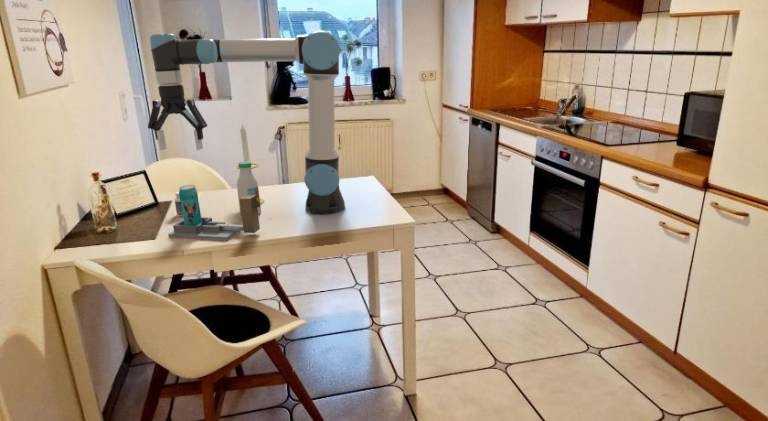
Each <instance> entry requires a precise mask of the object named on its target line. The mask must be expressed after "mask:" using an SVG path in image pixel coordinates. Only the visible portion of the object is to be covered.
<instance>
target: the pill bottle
mask: <svg viewBox="0 0 768 421" xmlns="http://www.w3.org/2000/svg"><path fill="white" fill-rule="evenodd" d="M179 191H180V190H179ZM179 191H176V192H175V193H174V194H175V198H174V205H175V211H176V215H177V216H178V217H183V213H182V207H181V202H180V196H179Z"/></svg>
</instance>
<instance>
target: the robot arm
mask: <svg viewBox="0 0 768 421" xmlns="http://www.w3.org/2000/svg"><path fill="white" fill-rule="evenodd" d="M149 40H150V41H149V42H150V52H151V55H152V61H153V65H154V71H155V72H154V73H155V78H156V83H157V85H159V86H158V87H157V88H158V93H159V95H158V96H159V97H160V99H155V100H152V102H151V103H152V108H151V112H150V116H149V121H148V124H147V128H148V129H150V130H153V131H154V135H155V140H156V141H158V147H159V150H160V151H163V150H166V149H167V143H166V137H165V132H164V129H162V127H163V125H164V124H165V122H166V119H167V118H168V116H169V115H173V114H175V115H179V114H180V115H181V116H182V117H183V118H185V119H186V121H187V122H188V123H189V124H190V126H192V127H193V128H194V130H193V135H194V142H195V149H196V151H200V150H203V149H204V147H203V139H204V133H203V129H204V128H207V127H208V123H207V122H206V120H205V119H204V117H203V115H202V114H201V112H200V111H199V109H198V107H197V106H196V102H195V100H194V99H193V98H191V99H185V90H184V86H183V84H181V83H183V77H182V73H181V66H184V65H211V64H215V63H249V62H250V63H252V62H253V63H257V62H258V63H260V62H267V63H268V62H297V64H299V65H302V67H303V69H302V70H303V75H304V77H306V78H307V82H308V83H307V86H308V140H309V141H308V142H309V143H308V144H309V146H308V149H309V150H308V151H307V152H306V153H305V156H304V164H305V165H304V166H305V167H304V169H305V170H304V171H305V172H304V184H305V186H306V188H307V190H308V191H307V192H308V193H307V197H306V201H305V211H306V213H309V214H312V215H320V216H321V215H331V214H337V213H340V212H342V211H344V210H345V208H346V204H345V203H346V202H345V199H344V197H343V194H342V192H341V189H340V175H339V174H340V172H339V171H340V170H339V169H340V168H339V167H340V166H339V164H340V162H339V160H340V159H339V154H338V152H337V151H336V150H335V79H336V78H337V77H338V76H340V60H339V59H340V52H341V49H340V44H339V42H338V40H337V38H336V36H334V35H333V34H332V33H330V32H328V31H325V30H315V31H312V32H310V33H308V34H298V35H296V36H295V37H294V38H288V37H287V38H242V39H241V38H235V39H233V38H229V39H228V38H225V39H224V38H223V39H213V38H200V39H199V38H197V39H196V38H195V39H176V35H175V34H173V33H156V34H155V33H154V34H151V35H150V38H149ZM180 65H181V66H180ZM161 107H162V108H163V109H162V110H161ZM187 107H188V108H187ZM160 111H161V112H160ZM159 114H160V115H159Z"/></svg>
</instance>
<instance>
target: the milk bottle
mask: <svg viewBox="0 0 768 421" xmlns="http://www.w3.org/2000/svg"><path fill="white" fill-rule="evenodd" d="M251 164H252V162H251V161H250V162H248V161H246V162H244V161H241V162H238V165H237V166H239V169H238V170H239V174H238V178H237V181H236V182H237V183H236V190H237V197H238V198H237V199H238V206H239V213H240V214H241V209H240V201H239V198H241V197H242V196H244V195H256V201H257V209H258V215H260V214H261V213H262V208H261V204H260V199H261V198H260V190H259V184H258V181H257V178H256V176H255V175H254V173H253V171H252V169H251V168H252V167H251Z"/></svg>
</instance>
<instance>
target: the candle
mask: <svg viewBox="0 0 768 421" xmlns="http://www.w3.org/2000/svg"><path fill="white" fill-rule="evenodd" d="M240 138H241V139H240V140H241V146H242V148H241V149H242V157H243V162H246V161H248V162H251V161H250V153H249V145H248V137H247V129H246V128H245V126H244V124H243V123H242V124H241V128H240ZM251 167H252V168H251V170H252V169H253V170H254V169H257V168H258V167H259V164H258V163H251ZM236 169H238V170H240V169H239V165H237V166H236ZM264 203H265V200H264V199H263V198H260V205H262V204H264Z"/></svg>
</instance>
